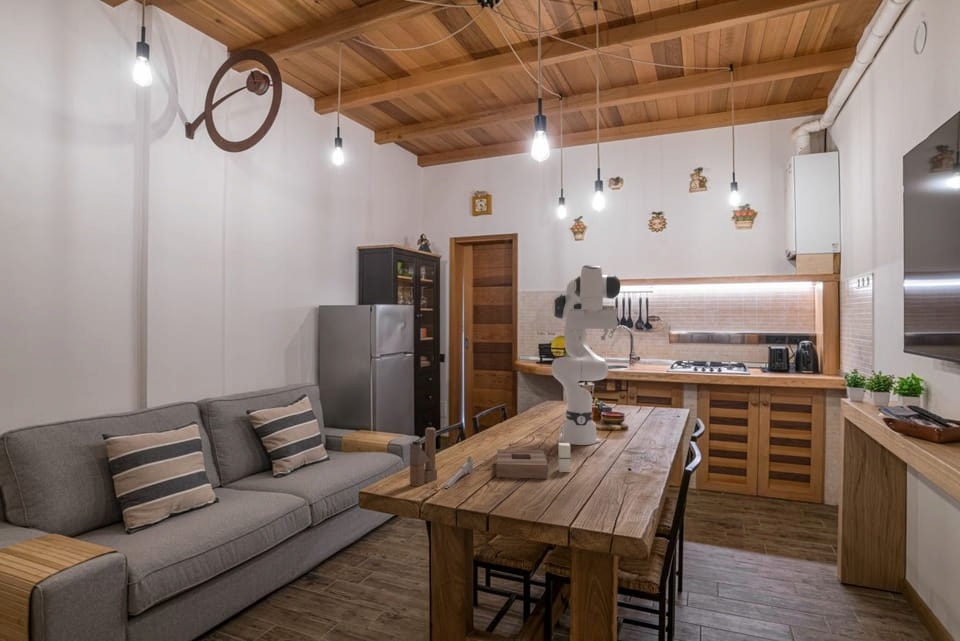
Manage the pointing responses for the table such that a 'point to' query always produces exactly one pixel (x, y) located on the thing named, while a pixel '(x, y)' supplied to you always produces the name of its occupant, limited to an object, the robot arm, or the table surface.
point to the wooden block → (423, 460)
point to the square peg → (564, 457)
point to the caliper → (461, 472)
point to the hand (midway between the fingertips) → (591, 340)
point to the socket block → (521, 464)
